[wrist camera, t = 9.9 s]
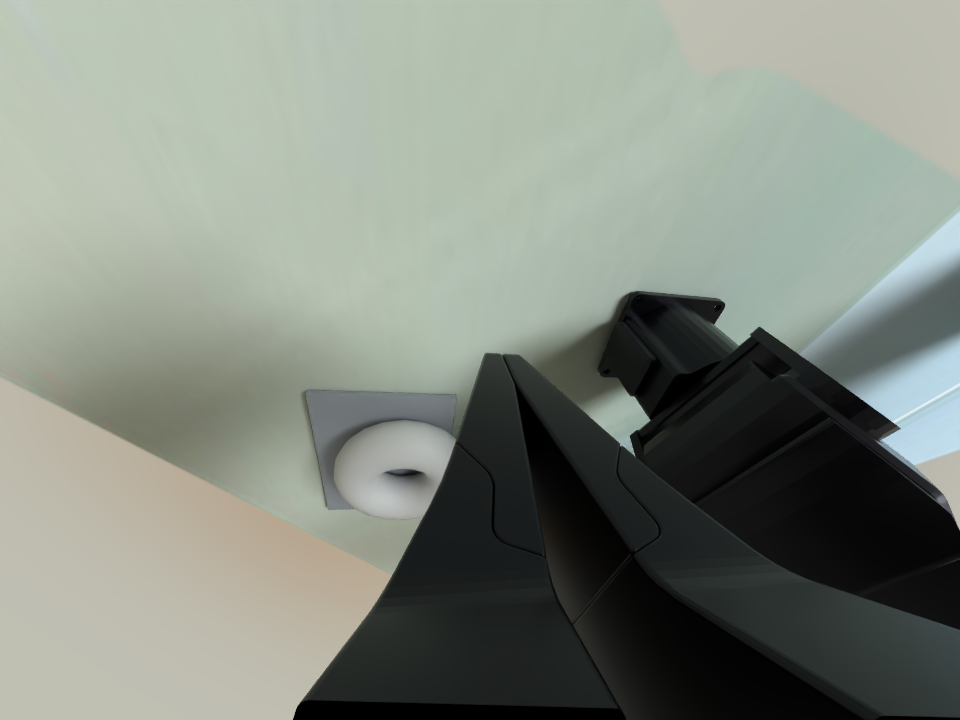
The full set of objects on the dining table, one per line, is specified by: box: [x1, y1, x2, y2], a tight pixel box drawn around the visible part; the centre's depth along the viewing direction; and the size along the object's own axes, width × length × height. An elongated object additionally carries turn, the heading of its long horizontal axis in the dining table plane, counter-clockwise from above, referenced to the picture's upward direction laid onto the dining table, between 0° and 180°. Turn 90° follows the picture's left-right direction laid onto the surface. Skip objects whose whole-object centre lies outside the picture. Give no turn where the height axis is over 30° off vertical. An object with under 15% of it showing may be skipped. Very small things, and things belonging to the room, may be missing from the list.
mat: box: [305, 390, 456, 510], centre depth 28 cm, size 10×14×1 cm
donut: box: [334, 420, 456, 520], centre depth 27 cm, size 10×4×10 cm
